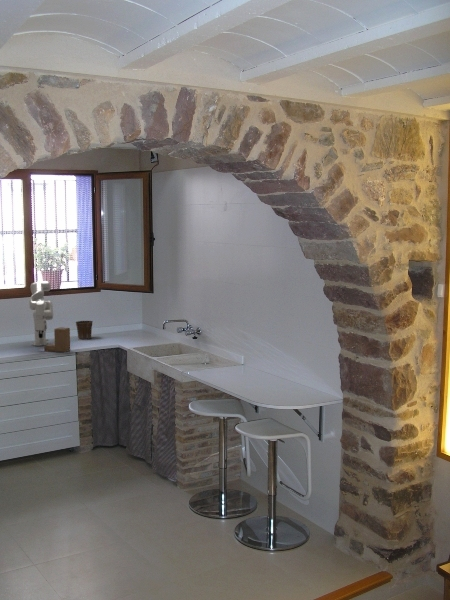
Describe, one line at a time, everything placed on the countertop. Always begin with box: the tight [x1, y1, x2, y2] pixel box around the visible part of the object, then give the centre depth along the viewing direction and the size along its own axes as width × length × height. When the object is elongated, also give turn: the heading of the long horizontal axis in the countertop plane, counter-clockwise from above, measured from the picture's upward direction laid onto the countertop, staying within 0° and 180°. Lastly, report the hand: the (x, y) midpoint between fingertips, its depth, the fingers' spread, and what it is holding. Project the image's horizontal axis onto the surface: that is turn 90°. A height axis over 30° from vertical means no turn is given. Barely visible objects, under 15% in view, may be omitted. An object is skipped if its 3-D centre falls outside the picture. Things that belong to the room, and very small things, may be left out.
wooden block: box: [53, 326, 71, 353], centre depth 577 cm, size 10×10×20 cm
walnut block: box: [43, 343, 55, 353], centre depth 581 cm, size 10×10×5 cm
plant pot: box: [75, 320, 93, 340], centre depth 641 cm, size 16×16×16 cm
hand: (40, 337), depth 586 cm, fingers closed
